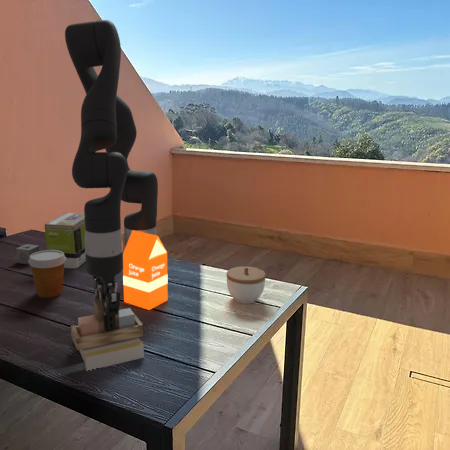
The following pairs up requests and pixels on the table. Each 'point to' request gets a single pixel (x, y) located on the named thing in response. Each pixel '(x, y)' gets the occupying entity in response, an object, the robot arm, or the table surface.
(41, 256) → the disposable coffee cup
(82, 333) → the block
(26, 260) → the dice cube
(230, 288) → the lidded jar
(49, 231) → the tea box
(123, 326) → the block
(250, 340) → the table surface
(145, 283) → the orange juice
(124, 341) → the strip
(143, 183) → the robot arm
